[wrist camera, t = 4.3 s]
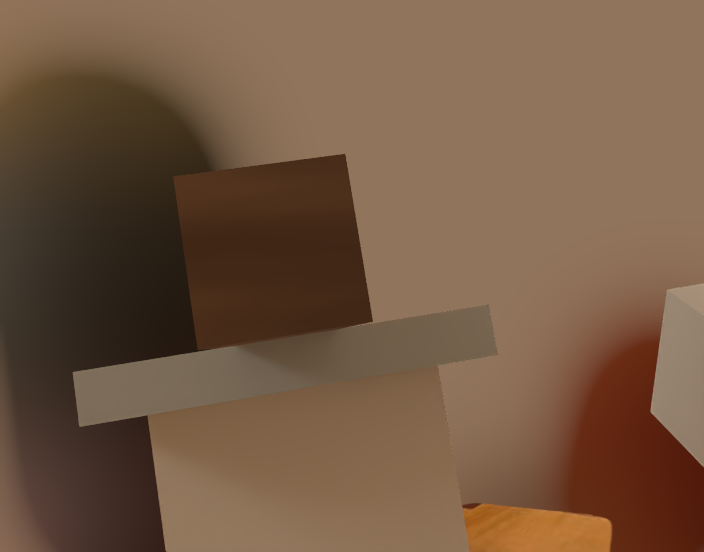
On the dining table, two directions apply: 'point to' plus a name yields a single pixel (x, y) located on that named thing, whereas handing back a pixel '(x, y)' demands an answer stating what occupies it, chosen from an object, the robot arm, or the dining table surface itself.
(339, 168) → the walnut block
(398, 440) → the stand
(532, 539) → the dining table surface
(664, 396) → the robot arm
